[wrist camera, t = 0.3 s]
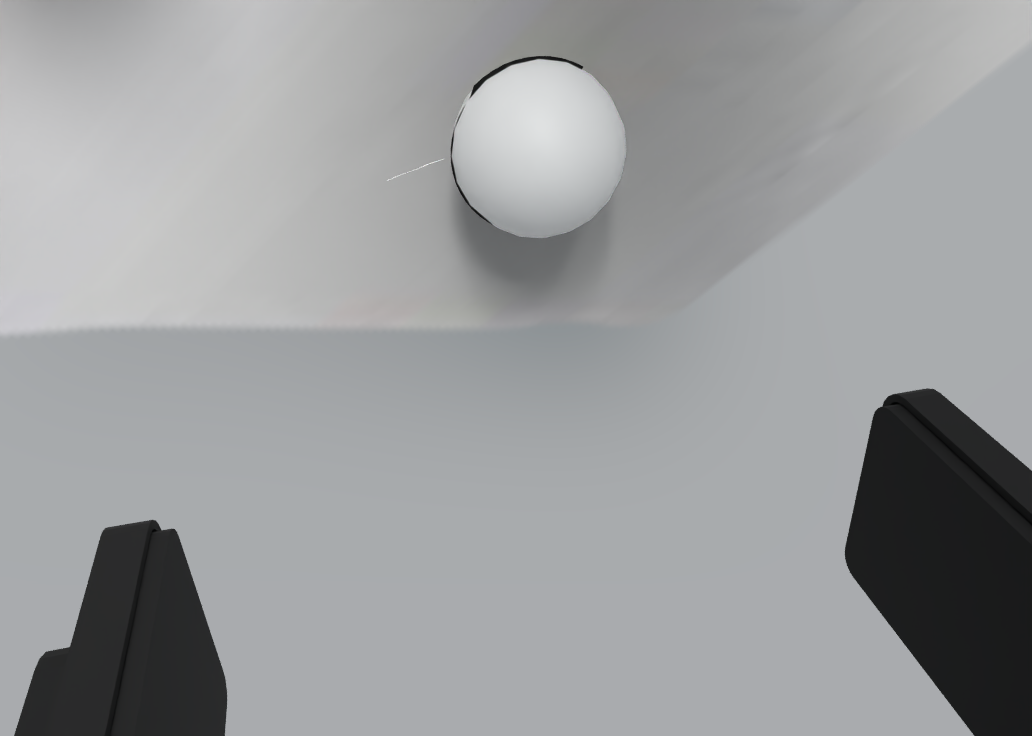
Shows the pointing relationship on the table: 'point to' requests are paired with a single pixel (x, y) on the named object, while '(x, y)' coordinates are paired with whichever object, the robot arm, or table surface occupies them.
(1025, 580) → the robot arm
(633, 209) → the table surface
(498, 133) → the white rounded egg-shaped part
